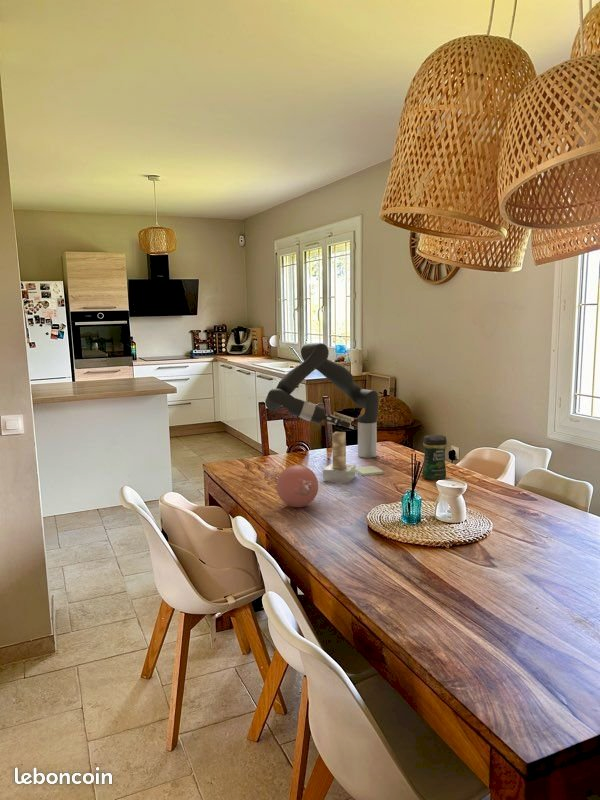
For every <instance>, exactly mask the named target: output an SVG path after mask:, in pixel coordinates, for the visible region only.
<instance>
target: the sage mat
mask: <svg viewBox="0 0 600 800" xmlns="http://www.w3.org/2000/svg"><path fill="white" fill-rule="evenodd" d="M357 472H358V474H359V475H360V476H362V475H363V476H362V477H364V475H365V476H373V475H383V474H384V470H382V469H380V468H379V467H376V466H375V465H369V466H362V467H361V466H360V467H355V473H357Z"/></svg>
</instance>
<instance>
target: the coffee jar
mask: <svg viewBox="0 0 600 800" xmlns="http://www.w3.org/2000/svg"><path fill="white" fill-rule="evenodd" d="M447 443H448V442H447V437H446V436H445V435H442V434H431V435H424V437H423V441H422V444H423V445H422V446H423V448H424V455H423V456H424V457H423V465H422V470H421V471H422V472H421V473H422V477H423V478H424V479H425V478H426V479H427V480H430V481H431V480H432V481H433V479H436V480H445V478H446V477H447V468H446V449H447V446H448V444H447ZM438 478H440V479H438Z"/></svg>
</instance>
